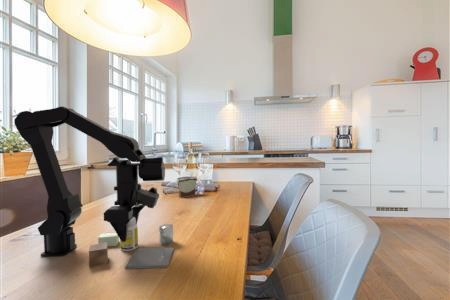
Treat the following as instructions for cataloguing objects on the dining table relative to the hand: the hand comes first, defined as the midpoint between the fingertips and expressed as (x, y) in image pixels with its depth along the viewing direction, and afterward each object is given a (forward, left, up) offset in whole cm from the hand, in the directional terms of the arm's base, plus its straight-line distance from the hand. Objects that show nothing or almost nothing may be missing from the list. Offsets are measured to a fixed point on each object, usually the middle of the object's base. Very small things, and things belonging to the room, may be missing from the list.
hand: (128, 235), depth 73 cm
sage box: (-7, +3, -4) cm, 8 cm away
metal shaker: (+10, +3, -4) cm, 11 cm away
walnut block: (-5, -8, -4) cm, 10 cm away
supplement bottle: (0, 0, -4) cm, 4 cm away
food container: (+8, +67, -4) cm, 68 cm away
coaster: (+8, -7, -4) cm, 11 cm away
